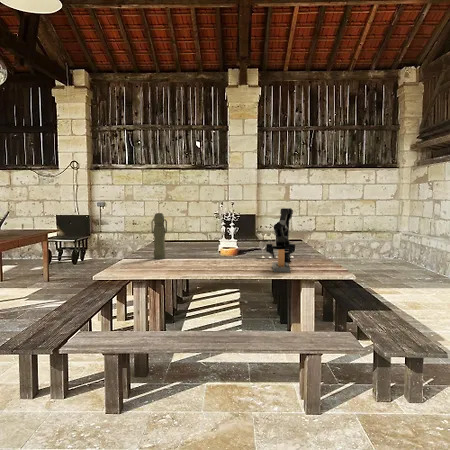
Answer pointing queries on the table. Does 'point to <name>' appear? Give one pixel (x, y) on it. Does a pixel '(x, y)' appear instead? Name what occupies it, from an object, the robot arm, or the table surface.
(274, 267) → the grey flat block
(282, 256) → the peg
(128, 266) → the table surface
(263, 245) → the goblet set
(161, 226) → the thermos
